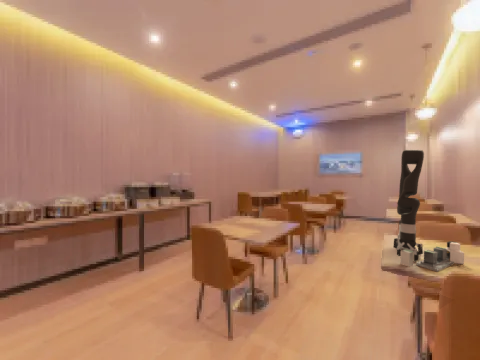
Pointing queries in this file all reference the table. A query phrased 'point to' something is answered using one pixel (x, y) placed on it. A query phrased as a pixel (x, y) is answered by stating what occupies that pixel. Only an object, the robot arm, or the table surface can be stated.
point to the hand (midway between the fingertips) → (407, 258)
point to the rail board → (435, 259)
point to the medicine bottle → (454, 252)
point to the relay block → (418, 258)
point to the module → (406, 257)
